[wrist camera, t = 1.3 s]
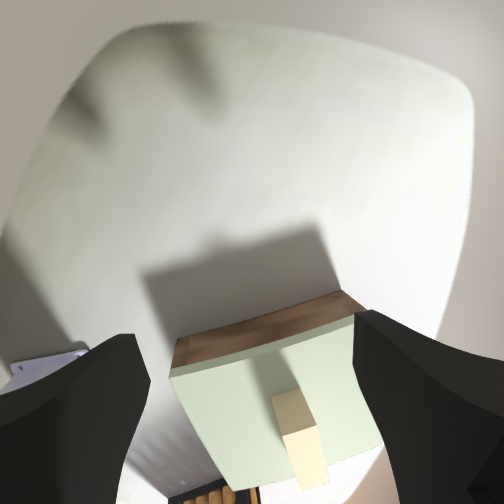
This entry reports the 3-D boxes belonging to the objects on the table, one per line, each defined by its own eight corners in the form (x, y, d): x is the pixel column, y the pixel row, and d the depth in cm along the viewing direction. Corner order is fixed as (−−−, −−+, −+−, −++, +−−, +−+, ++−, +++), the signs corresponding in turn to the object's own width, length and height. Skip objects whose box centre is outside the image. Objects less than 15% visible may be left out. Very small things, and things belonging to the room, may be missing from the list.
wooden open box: (229, 449, 23) (232, 482, 19) (177, 339, 20) (170, 369, 16) (358, 409, 24) (376, 436, 20) (341, 289, 21) (366, 309, 17)
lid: (231, 475, 20) (236, 525, 15) (172, 362, 17) (159, 418, 12) (372, 430, 20) (400, 473, 15) (361, 305, 18) (406, 341, 13)
